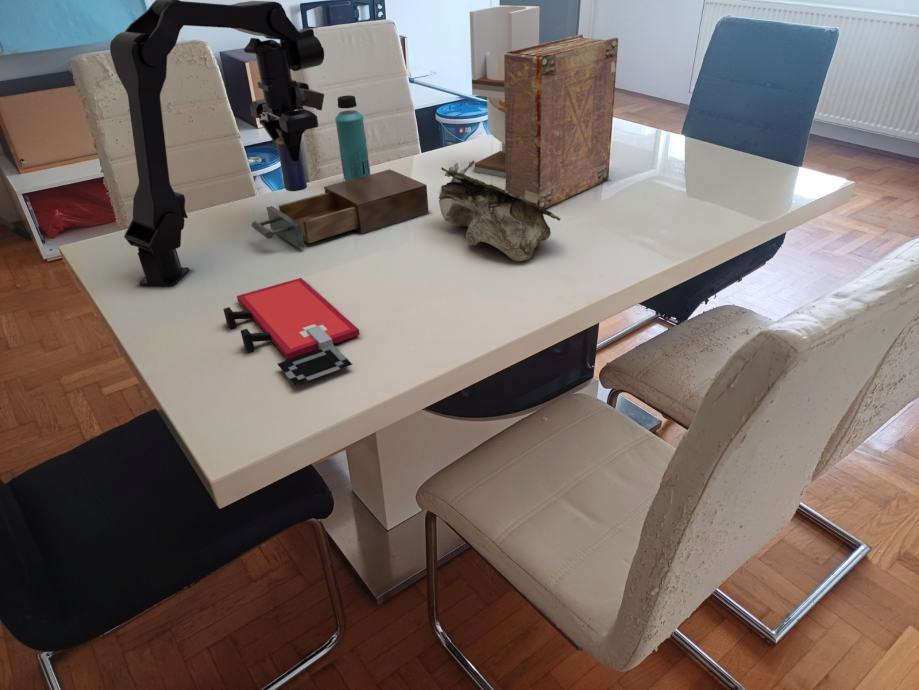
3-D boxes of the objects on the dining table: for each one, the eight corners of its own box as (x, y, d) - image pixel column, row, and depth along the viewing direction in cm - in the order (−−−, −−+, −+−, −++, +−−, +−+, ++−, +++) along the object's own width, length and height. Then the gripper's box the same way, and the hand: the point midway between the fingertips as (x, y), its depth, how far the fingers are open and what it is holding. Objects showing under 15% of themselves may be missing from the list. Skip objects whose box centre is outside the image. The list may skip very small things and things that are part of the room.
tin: (303, 191, 136) (294, 141, 130) (281, 191, 136) (271, 141, 131) (310, 183, 139) (302, 135, 134) (289, 183, 140) (280, 135, 135)
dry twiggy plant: (449, 204, 146) (429, 179, 151) (462, 216, 151) (443, 192, 156) (483, 171, 144) (462, 147, 148) (495, 184, 149) (475, 161, 153)
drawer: (275, 255, 125) (270, 232, 122) (248, 235, 134) (243, 213, 131) (368, 226, 135) (366, 204, 132) (337, 209, 144) (334, 188, 141)
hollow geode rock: (449, 239, 141) (400, 201, 131) (483, 188, 141) (437, 146, 130) (534, 284, 120) (484, 242, 110) (574, 224, 120) (528, 177, 110)
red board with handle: (282, 396, 88) (383, 359, 95) (278, 378, 87) (381, 342, 94) (215, 310, 110) (302, 285, 117) (211, 294, 108) (299, 270, 115)
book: (575, 172, 160) (582, 34, 144) (608, 180, 154) (619, 37, 138) (505, 203, 145) (503, 52, 129) (539, 212, 139) (541, 56, 123)
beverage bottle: (367, 189, 156) (356, 99, 145) (339, 188, 157) (327, 99, 147) (375, 180, 161) (365, 93, 151) (349, 179, 163) (337, 93, 152)
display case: (500, 158, 171) (498, 5, 152) (536, 165, 166) (539, 6, 147) (474, 171, 163) (469, 11, 145) (511, 178, 158) (511, 13, 139)
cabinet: (361, 234, 134) (357, 204, 130) (328, 215, 143) (323, 186, 140) (428, 213, 142) (426, 184, 138) (392, 196, 151) (390, 169, 148)
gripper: (337, 75, 124) (348, 159, 132) (294, 63, 137) (307, 140, 145) (280, 85, 118) (296, 172, 127) (241, 72, 131) (258, 152, 140)
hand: (290, 158), depth 135 cm, fingers closed on tin, 4 cm apart
